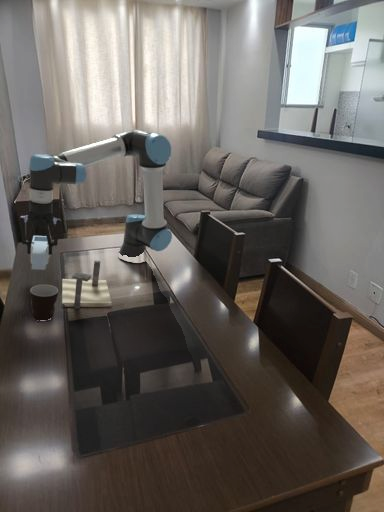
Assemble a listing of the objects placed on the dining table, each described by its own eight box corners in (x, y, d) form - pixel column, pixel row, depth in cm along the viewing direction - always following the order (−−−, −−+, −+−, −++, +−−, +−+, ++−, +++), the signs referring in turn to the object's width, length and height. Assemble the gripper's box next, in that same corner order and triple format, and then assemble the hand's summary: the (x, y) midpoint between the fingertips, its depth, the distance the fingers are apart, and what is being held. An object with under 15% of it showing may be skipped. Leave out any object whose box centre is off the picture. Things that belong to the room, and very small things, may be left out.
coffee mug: (47, 326, 116) (48, 298, 113) (23, 319, 118) (24, 292, 114) (66, 310, 127) (68, 285, 124) (44, 304, 128) (45, 279, 125)
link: (31, 249, 143) (32, 235, 141) (50, 250, 146) (51, 236, 144) (27, 269, 127) (28, 253, 125) (49, 269, 129) (49, 254, 127)
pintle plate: (62, 282, 147) (64, 255, 143) (105, 283, 153) (108, 257, 149) (62, 308, 128) (64, 278, 124) (111, 309, 134) (115, 280, 130)
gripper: (11, 200, 119) (12, 265, 127) (67, 205, 125) (64, 266, 133) (14, 195, 125) (14, 257, 133) (67, 200, 132) (64, 259, 140)
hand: (39, 261), depth 133 cm, fingers closed on link, 4 cm apart
